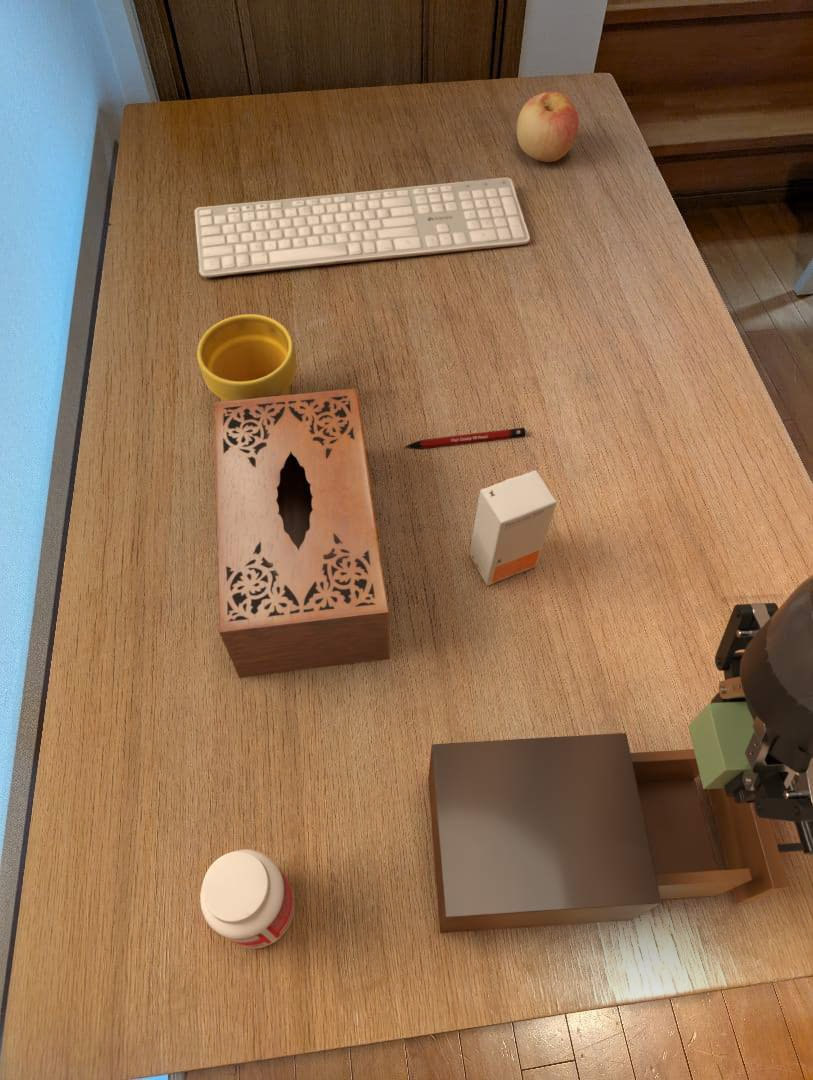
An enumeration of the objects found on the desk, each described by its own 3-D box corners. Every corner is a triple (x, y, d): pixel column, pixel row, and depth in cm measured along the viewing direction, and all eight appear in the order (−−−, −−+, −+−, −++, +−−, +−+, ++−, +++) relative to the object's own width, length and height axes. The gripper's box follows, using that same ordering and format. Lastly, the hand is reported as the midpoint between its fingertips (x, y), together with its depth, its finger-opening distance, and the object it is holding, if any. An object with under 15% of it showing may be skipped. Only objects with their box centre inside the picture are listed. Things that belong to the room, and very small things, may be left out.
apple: (558, 132, 125) (567, 79, 118) (582, 166, 120) (592, 113, 113) (504, 142, 123) (510, 89, 116) (526, 177, 119) (534, 124, 112)
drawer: (766, 761, 73) (802, 732, 67) (806, 899, 67) (851, 882, 61) (553, 774, 72) (568, 746, 66) (575, 914, 66) (594, 900, 60)
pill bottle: (274, 853, 70) (255, 823, 60) (309, 920, 67) (294, 900, 57) (207, 895, 68) (176, 870, 58) (240, 966, 65) (213, 952, 56)
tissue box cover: (231, 462, 91) (214, 402, 83) (360, 448, 92) (356, 388, 84) (239, 677, 78) (219, 632, 69) (389, 658, 79) (388, 611, 70)
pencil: (403, 446, 93) (403, 440, 92) (523, 431, 94) (524, 426, 93) (404, 452, 92) (404, 447, 92) (524, 437, 94) (525, 432, 93)
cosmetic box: (486, 588, 83) (499, 524, 73) (468, 555, 85) (477, 488, 75) (539, 567, 84) (558, 501, 74) (519, 535, 87) (536, 467, 76)
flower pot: (196, 423, 94) (176, 363, 86) (243, 364, 99) (229, 301, 91) (274, 455, 92) (262, 396, 84) (318, 392, 97) (311, 330, 88)
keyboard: (201, 282, 107) (197, 267, 105) (197, 221, 113) (193, 206, 111) (530, 246, 111) (533, 231, 109) (509, 189, 117) (511, 174, 115)
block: (749, 722, 58) (774, 699, 55) (767, 786, 56) (795, 766, 52) (687, 725, 58) (708, 703, 54) (703, 789, 56) (725, 770, 52)
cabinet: (601, 767, 74) (626, 732, 65) (629, 920, 67) (661, 903, 59) (428, 777, 73) (431, 744, 65) (439, 933, 66) (445, 917, 58)
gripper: (970, 789, 39) (814, 859, 53) (865, 534, 46) (753, 656, 61) (814, 797, 39) (700, 865, 53) (734, 539, 46) (654, 661, 61)
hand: (729, 753), depth 57 cm, fingers closed on block, 4 cm apart
